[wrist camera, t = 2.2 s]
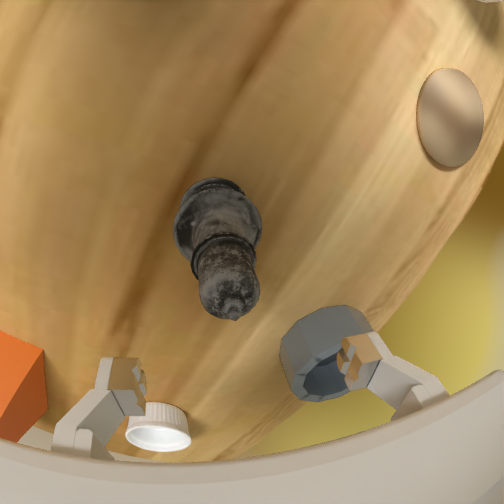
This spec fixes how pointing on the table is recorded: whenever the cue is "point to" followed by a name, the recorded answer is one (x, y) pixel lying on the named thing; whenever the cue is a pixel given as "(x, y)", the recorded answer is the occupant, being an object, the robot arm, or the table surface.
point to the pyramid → (20, 387)
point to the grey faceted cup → (319, 352)
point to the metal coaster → (449, 117)
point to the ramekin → (159, 428)
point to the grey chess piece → (220, 245)
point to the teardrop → (488, 0)
